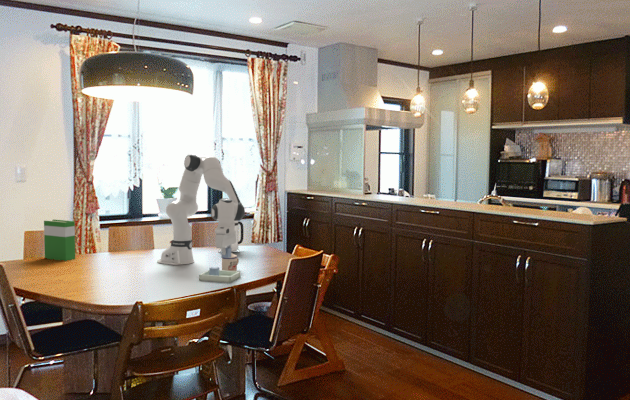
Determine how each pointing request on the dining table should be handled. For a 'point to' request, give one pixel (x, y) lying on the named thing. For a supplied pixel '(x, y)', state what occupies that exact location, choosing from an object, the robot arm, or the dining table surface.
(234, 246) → the coffee press
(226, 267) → the teacup with lid
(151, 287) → the dining table surface
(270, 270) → the dining table surface
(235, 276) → the sage tray
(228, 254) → the blue block
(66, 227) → the cereal box
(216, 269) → the blue block
